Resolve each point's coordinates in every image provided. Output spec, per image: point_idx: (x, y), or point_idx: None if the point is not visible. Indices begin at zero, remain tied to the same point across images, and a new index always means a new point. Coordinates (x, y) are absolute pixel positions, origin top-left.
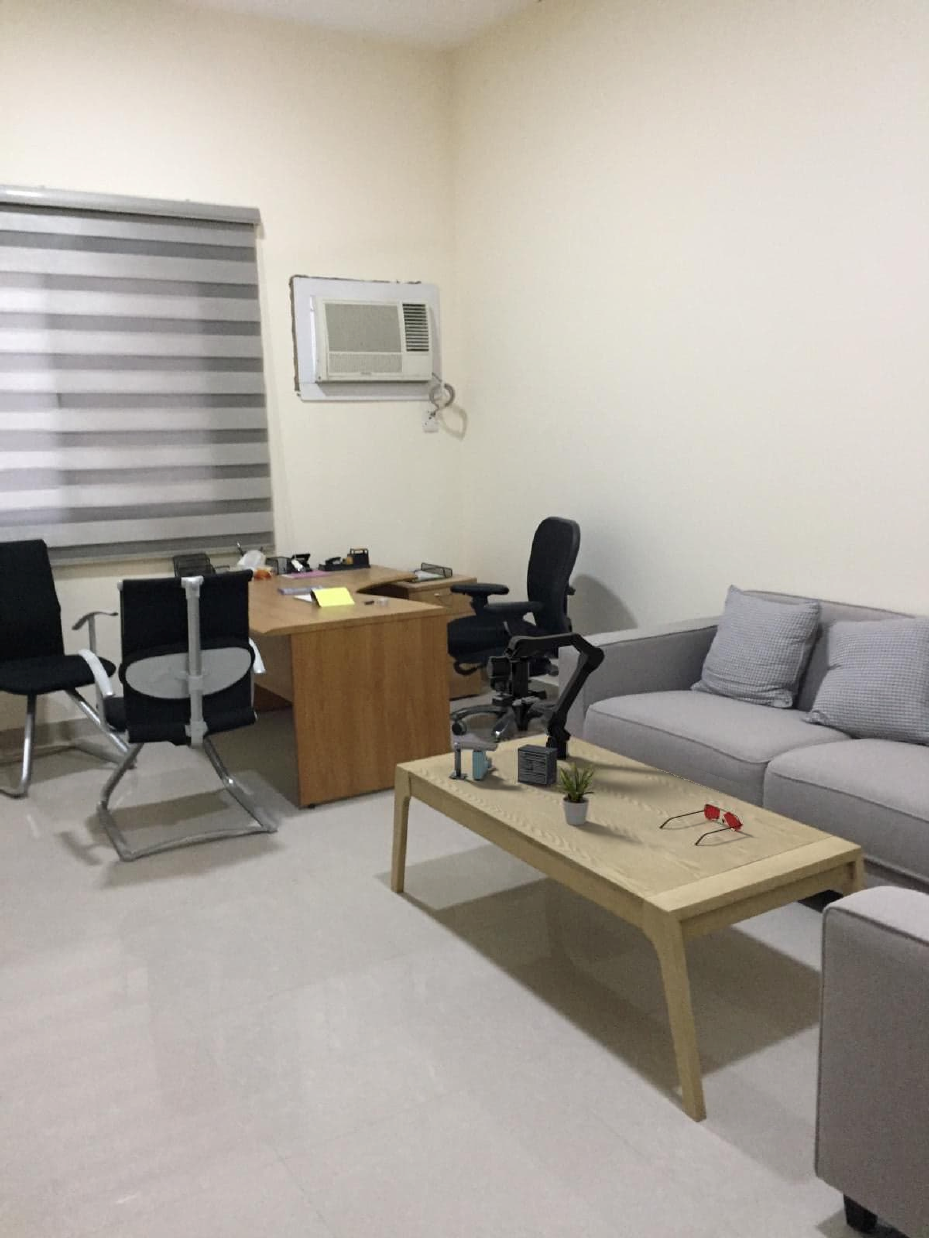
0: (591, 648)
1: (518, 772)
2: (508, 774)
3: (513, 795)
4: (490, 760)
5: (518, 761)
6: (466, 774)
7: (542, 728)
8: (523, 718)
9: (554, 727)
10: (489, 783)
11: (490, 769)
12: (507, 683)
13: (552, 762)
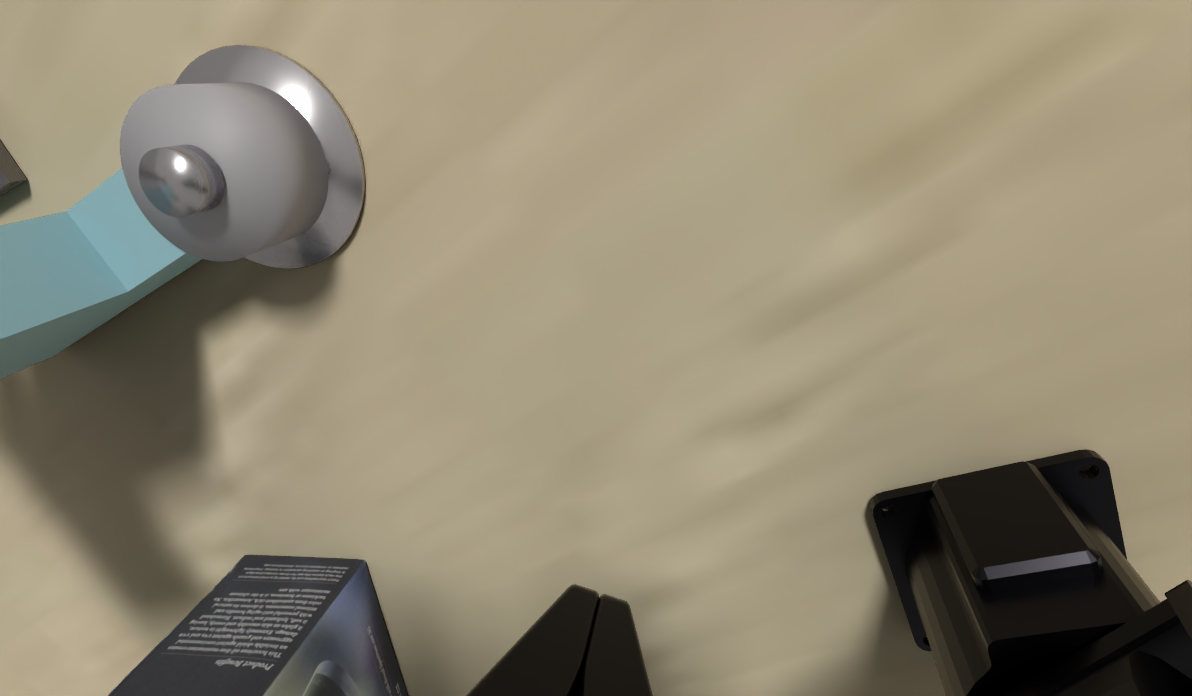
0: None
1: (197, 610)
2: (298, 437)
3: (84, 627)
4: (227, 259)
5: (127, 682)
6: (9, 185)
7: (1088, 692)
8: None
9: None
10: (78, 428)
11: (256, 262)
12: None
13: None
